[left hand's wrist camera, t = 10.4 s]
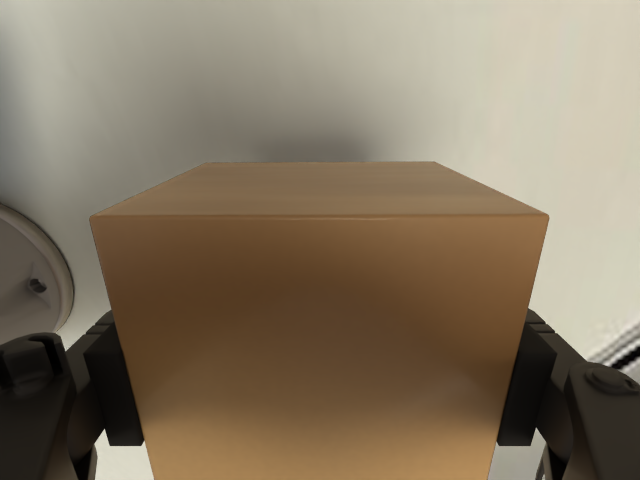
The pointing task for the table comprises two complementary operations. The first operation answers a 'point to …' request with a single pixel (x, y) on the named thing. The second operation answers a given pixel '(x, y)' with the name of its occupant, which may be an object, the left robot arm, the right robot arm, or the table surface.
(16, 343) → the left robot arm
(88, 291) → the table surface
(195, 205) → the wide beam
